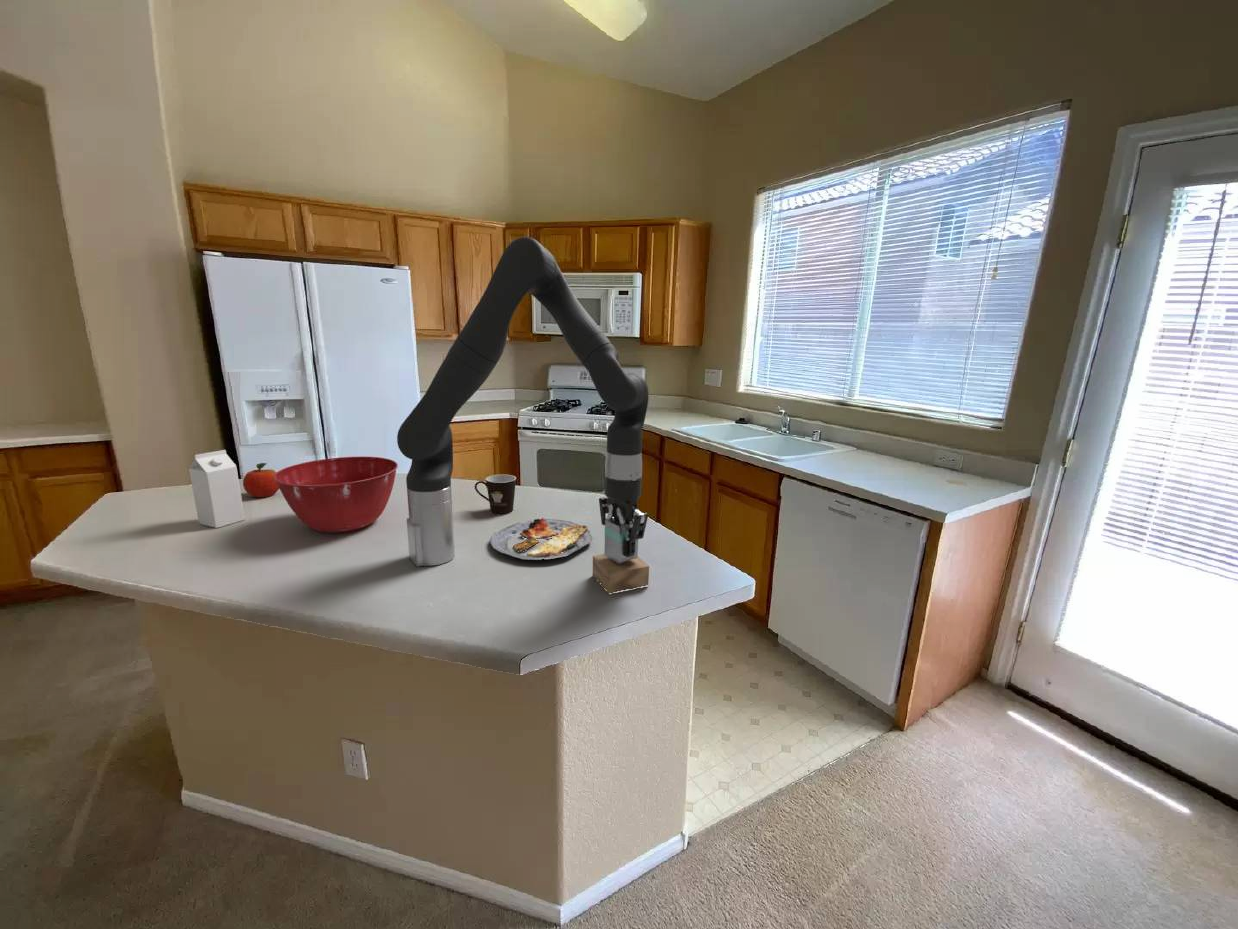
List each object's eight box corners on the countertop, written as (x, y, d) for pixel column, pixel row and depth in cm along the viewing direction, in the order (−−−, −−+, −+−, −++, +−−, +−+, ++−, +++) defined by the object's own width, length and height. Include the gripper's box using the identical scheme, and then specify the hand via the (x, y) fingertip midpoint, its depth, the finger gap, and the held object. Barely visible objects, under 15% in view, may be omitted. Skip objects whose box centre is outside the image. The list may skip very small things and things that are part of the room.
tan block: (608, 596, 102) (609, 573, 101) (592, 577, 110) (592, 555, 109) (648, 588, 106) (649, 566, 104) (629, 570, 114) (630, 549, 112)
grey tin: (618, 563, 103) (619, 526, 101) (604, 555, 107) (604, 519, 105) (637, 557, 106) (639, 522, 104) (623, 549, 110) (624, 515, 108)
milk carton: (198, 524, 131) (185, 453, 127) (228, 516, 138) (216, 448, 133) (216, 528, 129) (203, 456, 124) (245, 520, 135) (234, 451, 131)
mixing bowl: (292, 555, 115) (283, 490, 112) (272, 520, 136) (264, 464, 132) (417, 528, 134) (413, 472, 130) (383, 500, 154) (378, 451, 150)
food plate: (538, 519, 142) (538, 507, 141) (608, 538, 131) (608, 526, 130) (471, 551, 122) (471, 538, 121) (547, 577, 110) (547, 563, 109)
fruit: (238, 501, 150) (233, 468, 147) (253, 491, 159) (249, 460, 156) (274, 499, 152) (269, 467, 149) (287, 490, 161) (283, 460, 158)
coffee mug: (522, 510, 150) (522, 477, 147) (501, 518, 143) (500, 484, 140) (495, 502, 156) (494, 471, 153) (473, 509, 149) (472, 477, 146)
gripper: (588, 468, 105) (587, 543, 109) (630, 484, 94) (627, 568, 98) (617, 463, 110) (615, 536, 114) (660, 479, 99) (656, 559, 103)
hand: (620, 550), depth 106 cm, fingers closed on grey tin, 5 cm apart
